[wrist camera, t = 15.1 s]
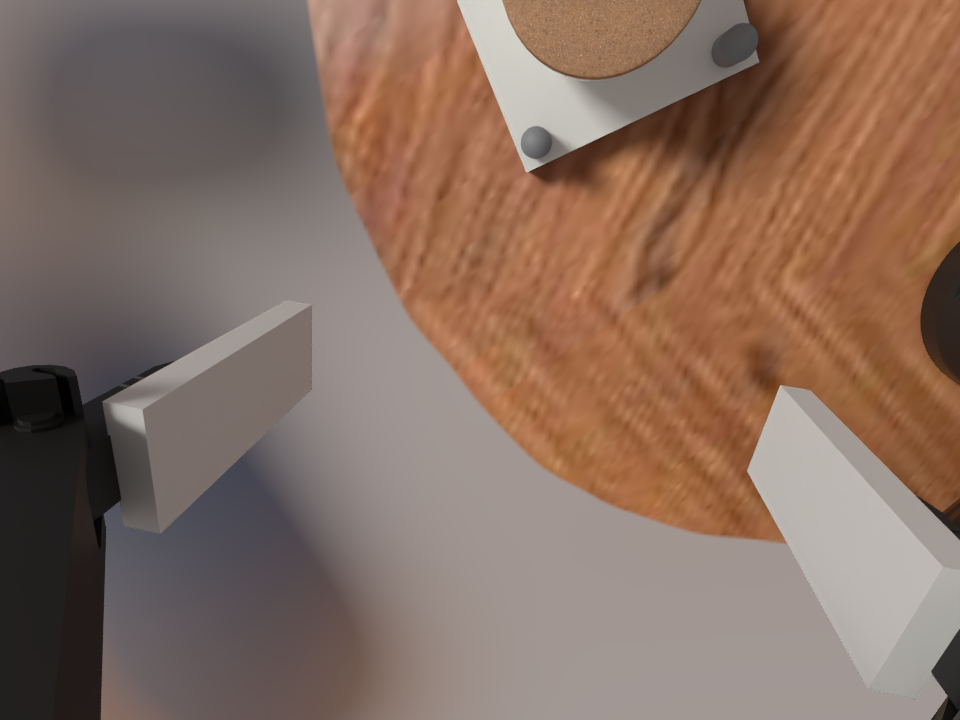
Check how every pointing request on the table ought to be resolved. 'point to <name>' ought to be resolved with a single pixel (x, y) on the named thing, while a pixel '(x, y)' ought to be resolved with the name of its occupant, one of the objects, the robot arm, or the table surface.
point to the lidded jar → (598, 33)
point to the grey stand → (608, 103)
